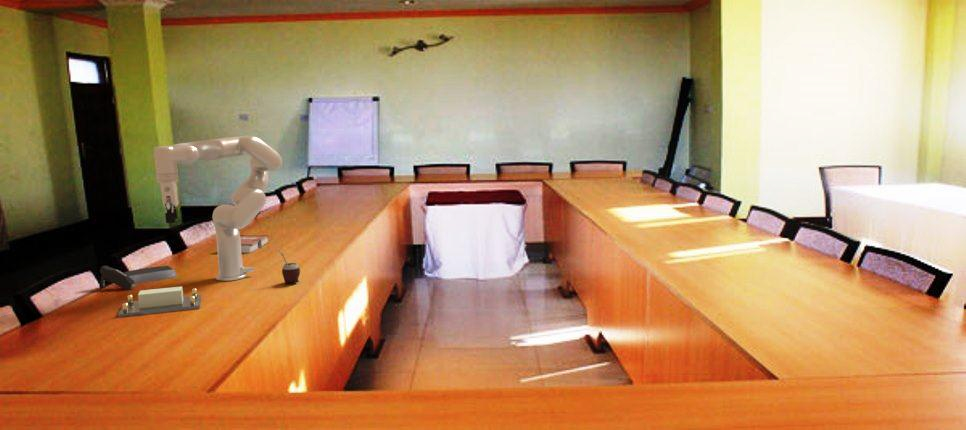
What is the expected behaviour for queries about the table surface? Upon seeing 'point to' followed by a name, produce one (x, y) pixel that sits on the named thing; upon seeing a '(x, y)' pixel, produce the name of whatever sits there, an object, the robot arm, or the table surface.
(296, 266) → the mate gourd
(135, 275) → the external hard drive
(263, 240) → the book
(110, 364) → the table surface
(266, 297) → the table surface
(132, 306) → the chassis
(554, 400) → the table surface
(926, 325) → the table surface
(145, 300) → the pale grey rectangular block
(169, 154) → the robot arm
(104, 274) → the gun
